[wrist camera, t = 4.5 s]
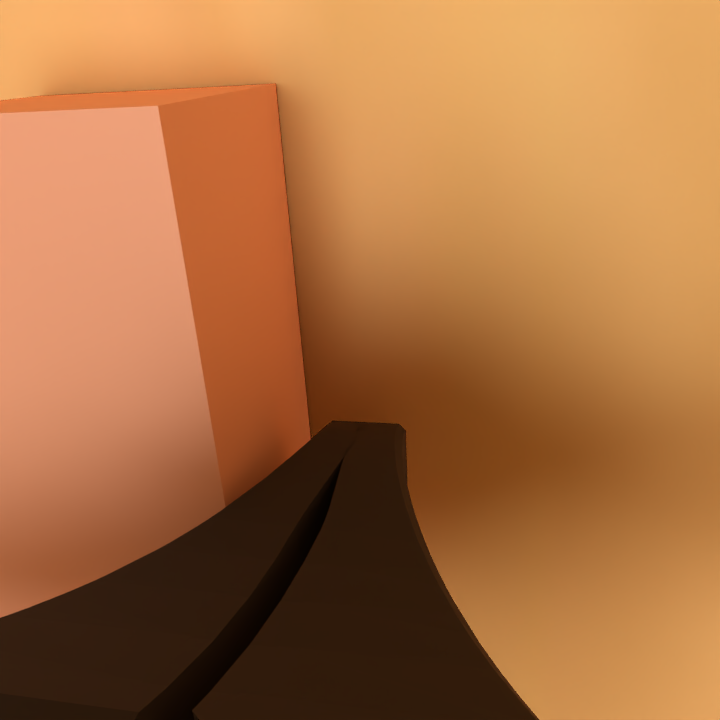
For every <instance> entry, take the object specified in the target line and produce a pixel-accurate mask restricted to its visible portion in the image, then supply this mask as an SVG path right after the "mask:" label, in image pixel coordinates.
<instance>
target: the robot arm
mask: <svg viewBox="0 0 720 720" xmlns="http://www.w3.org/2000/svg"><path fill="white" fill-rule="evenodd" d="M0 720H539V719H538V718H537V717H536V715H535V714H534V713H533V712H532V711H531V710H530V708H529V707H528V706H527V705H526V704H525V702H524V701H523V700H522V699H521V698H520V696H519V695H518V694H517V693H516V691H515V690H514V689H513V688H512V686H511V685H510V684H509V682H508V681H507V680H506V679H505V677H504V676H503V675H502V674H501V672H500V671H499V669H498V668H497V667H496V665H495V664H494V662H493V661H492V660H491V658H490V657H489V655H488V654H487V653H486V651H485V650H484V648H483V647H482V646H481V644H480V643H479V641H478V640H477V638H476V636H475V635H474V633H473V632H472V630H471V628H470V627H469V625H468V623H467V622H466V620H465V619H464V617H463V615H462V614H461V612H460V611H459V609H458V607H457V606H456V604H455V602H454V601H453V599H452V597H451V596H450V594H449V592H448V590H447V588H446V586H445V584H444V582H443V580H442V578H441V576H440V574H439V572H438V570H437V568H436V566H435V564H434V562H433V559H432V557H431V555H430V553H429V550H428V548H427V546H426V543H425V541H424V538H423V536H422V533H421V530H420V527H419V524H418V522H417V519H416V516H415V513H414V510H413V506H412V503H411V499H410V495H409V491H408V487H407V460H406V431H405V430H404V429H403V428H402V427H401V426H400V425H399V424H390V423H368V422H347V421H332V422H331V423H329V424H328V425H327V426H326V427H324V428H323V429H322V430H321V431H320V432H319V433H318V434H316V435H315V436H314V437H313V438H312V439H311V440H309V441H308V442H307V443H306V444H305V445H304V446H303V447H301V448H300V449H299V450H298V451H297V452H296V453H294V454H293V455H292V456H291V457H290V458H289V459H287V460H286V461H285V462H284V463H283V464H281V465H280V466H279V467H278V468H277V469H275V470H274V471H273V472H272V473H271V474H269V475H268V476H267V477H266V478H264V479H263V480H262V481H260V482H259V483H258V484H256V485H255V486H254V487H252V488H251V489H250V490H248V491H247V492H246V493H244V494H243V495H241V496H240V497H239V498H237V499H236V500H235V501H233V502H232V503H231V504H229V505H228V506H227V507H225V508H224V509H223V510H221V511H220V512H218V513H217V514H215V515H214V516H212V517H211V518H209V519H208V520H206V521H204V522H203V523H201V524H200V525H198V526H197V527H195V528H193V529H192V530H190V531H188V532H187V533H185V534H183V535H182V536H180V537H178V538H177V539H175V540H173V541H172V542H170V543H168V544H166V545H164V546H163V547H161V548H159V549H157V550H155V551H153V552H151V553H149V554H147V555H145V556H143V557H141V558H139V559H137V560H135V561H133V562H131V563H129V564H127V565H125V566H123V567H121V568H119V569H117V570H115V571H113V572H111V573H109V574H107V575H105V576H103V577H101V578H99V579H97V580H95V581H92V582H90V583H88V584H85V585H83V586H81V587H78V588H76V589H74V590H71V591H69V592H67V593H64V594H62V595H59V596H57V597H54V598H52V599H49V600H47V601H44V602H42V603H39V604H36V605H34V606H31V607H29V608H26V609H23V610H21V611H18V612H15V613H12V614H10V615H7V616H4V617H1V618H0Z"/></svg>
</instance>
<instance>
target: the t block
mask: <svg viewBox="0 0 720 720" xmlns="http://www.w3.org/2000/svg"><path fill="white" fill-rule="evenodd" d="M309 440H311V436H310V426H309V416H308V406H307V396H306V386H305V376H304V366H303V356H302V346H301V336H300V325H299V315H298V305H297V295H296V285H295V275H294V265H293V255H292V245H291V235H290V224H289V214H288V204H287V194H286V184H285V174H284V164H283V154H282V144H281V134H280V123H279V113H278V103H277V93H276V84H259V85H240V86H221V87H202V88H182V89H163V90H144V91H125V92H105V93H86V94H67V95H48V96H35V97H27V98H18V99H10V100H1V101H0V618H1V617H4V616H7V615H10V614H12V613H15V612H18V611H21V610H23V609H26V608H29V607H31V606H34V605H36V604H39V603H42V602H44V601H47V600H49V599H52V598H54V597H57V596H59V595H62V594H64V593H67V592H69V591H71V590H74V589H76V588H78V587H81V586H83V585H85V584H88V583H90V582H92V581H95V580H97V579H99V578H101V577H103V576H105V575H107V574H109V573H111V572H113V571H115V570H117V569H119V568H121V567H123V566H125V565H127V564H129V563H131V562H133V561H135V560H137V559H139V558H141V557H143V556H145V555H147V554H149V553H151V552H153V551H155V550H157V549H159V548H161V547H163V546H164V545H166V544H168V543H170V542H172V541H173V540H175V539H177V538H178V537H180V536H182V535H183V534H185V533H187V532H188V531H190V530H192V529H193V528H195V527H197V526H198V525H200V524H201V523H203V522H204V521H206V520H208V519H209V518H211V517H212V516H214V515H215V514H217V513H218V512H220V511H221V510H223V509H224V508H225V507H227V506H228V505H229V504H231V503H232V502H233V501H235V500H236V499H237V498H239V497H240V496H241V495H243V494H244V493H246V492H247V491H248V490H250V489H251V488H252V487H254V486H255V485H256V484H258V483H259V482H260V481H262V480H263V479H264V478H266V477H267V476H268V475H269V474H271V473H272V472H273V471H274V470H275V469H277V468H278V467H279V466H280V465H281V464H283V463H284V462H285V461H286V460H287V459H289V458H290V457H291V456H292V455H293V454H294V453H296V452H297V451H298V450H299V449H300V448H301V447H303V446H304V445H305V444H306V443H307V442H308V441H309Z"/></svg>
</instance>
